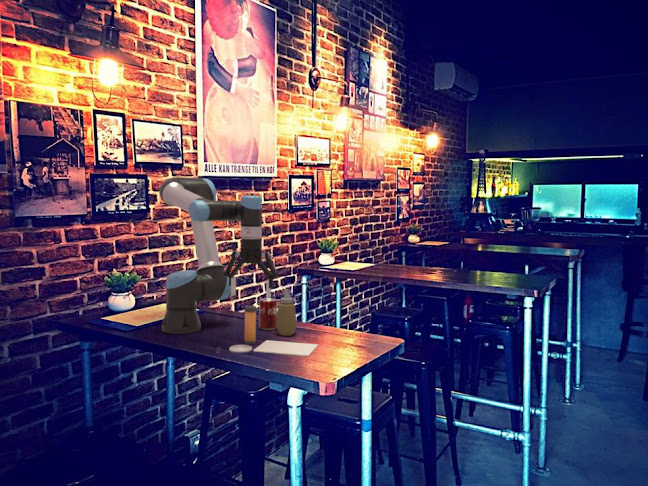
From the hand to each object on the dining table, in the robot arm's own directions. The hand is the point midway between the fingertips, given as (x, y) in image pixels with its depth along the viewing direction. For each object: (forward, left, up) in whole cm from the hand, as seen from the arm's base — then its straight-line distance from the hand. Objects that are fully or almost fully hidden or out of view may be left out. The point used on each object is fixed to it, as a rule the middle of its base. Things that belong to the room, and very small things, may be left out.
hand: (250, 296), depth 196 cm
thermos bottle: (0, 0, -18) cm, 18 cm away
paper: (+15, -3, -18) cm, 23 cm away
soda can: (-1, +23, -18) cm, 29 cm away
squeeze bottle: (+9, +16, -18) cm, 26 cm away
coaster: (0, -9, -18) cm, 20 cm away
